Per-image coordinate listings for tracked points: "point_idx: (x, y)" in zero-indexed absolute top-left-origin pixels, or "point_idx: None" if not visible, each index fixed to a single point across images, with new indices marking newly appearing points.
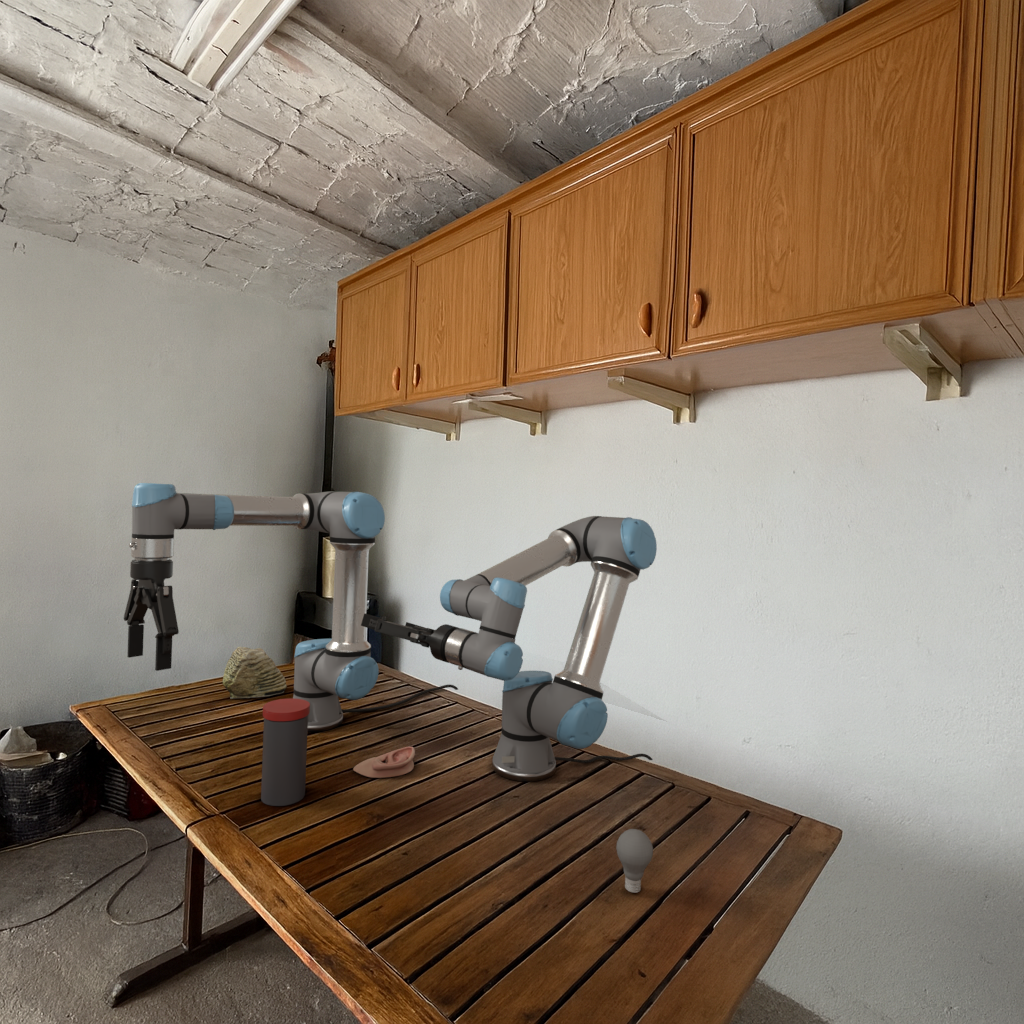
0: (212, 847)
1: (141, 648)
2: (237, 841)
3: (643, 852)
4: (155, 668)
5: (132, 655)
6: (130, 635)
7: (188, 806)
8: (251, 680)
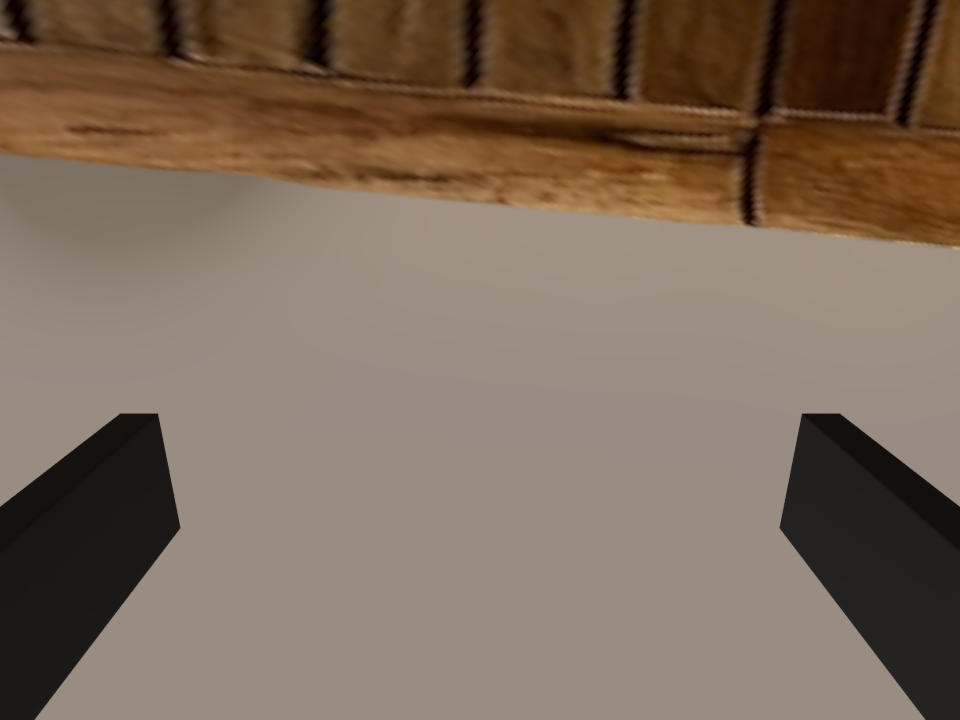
0: (913, 232)
1: (120, 467)
2: (951, 167)
3: None
4: (792, 537)
5: (168, 510)
6: (27, 709)
7: (636, 169)
8: None
